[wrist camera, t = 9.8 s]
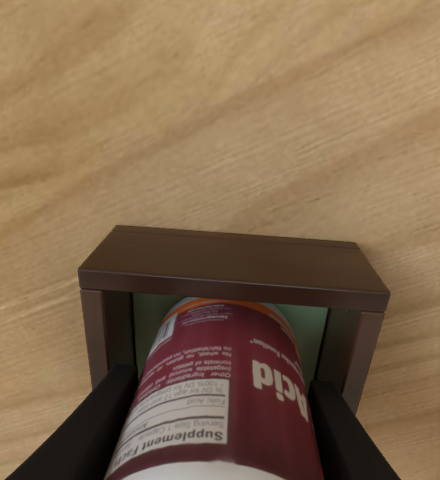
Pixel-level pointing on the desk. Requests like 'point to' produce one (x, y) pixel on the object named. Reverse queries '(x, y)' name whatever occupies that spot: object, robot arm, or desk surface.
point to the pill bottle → (219, 400)
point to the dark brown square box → (234, 295)
